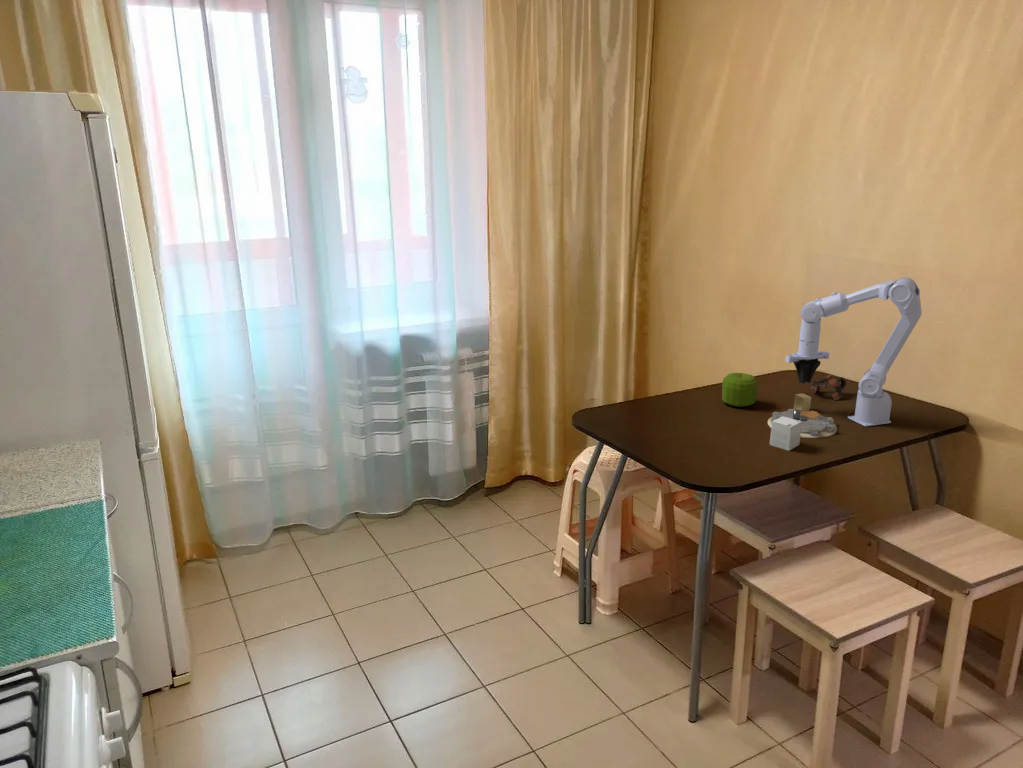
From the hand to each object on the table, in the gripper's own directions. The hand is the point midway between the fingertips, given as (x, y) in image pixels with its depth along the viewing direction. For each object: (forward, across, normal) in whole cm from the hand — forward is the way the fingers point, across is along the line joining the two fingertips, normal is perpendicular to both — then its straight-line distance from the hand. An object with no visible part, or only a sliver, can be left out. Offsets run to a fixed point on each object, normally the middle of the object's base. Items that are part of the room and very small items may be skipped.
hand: (804, 382), depth 235 cm
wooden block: (+10, 0, 0) cm, 10 cm away
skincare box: (+10, +22, +22) cm, 33 cm away
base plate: (+9, +8, +12) cm, 17 cm away
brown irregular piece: (+10, -18, -9) cm, 22 cm away
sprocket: (+9, +8, +12) cm, 17 cm away
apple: (+10, +16, -12) cm, 22 cm away
